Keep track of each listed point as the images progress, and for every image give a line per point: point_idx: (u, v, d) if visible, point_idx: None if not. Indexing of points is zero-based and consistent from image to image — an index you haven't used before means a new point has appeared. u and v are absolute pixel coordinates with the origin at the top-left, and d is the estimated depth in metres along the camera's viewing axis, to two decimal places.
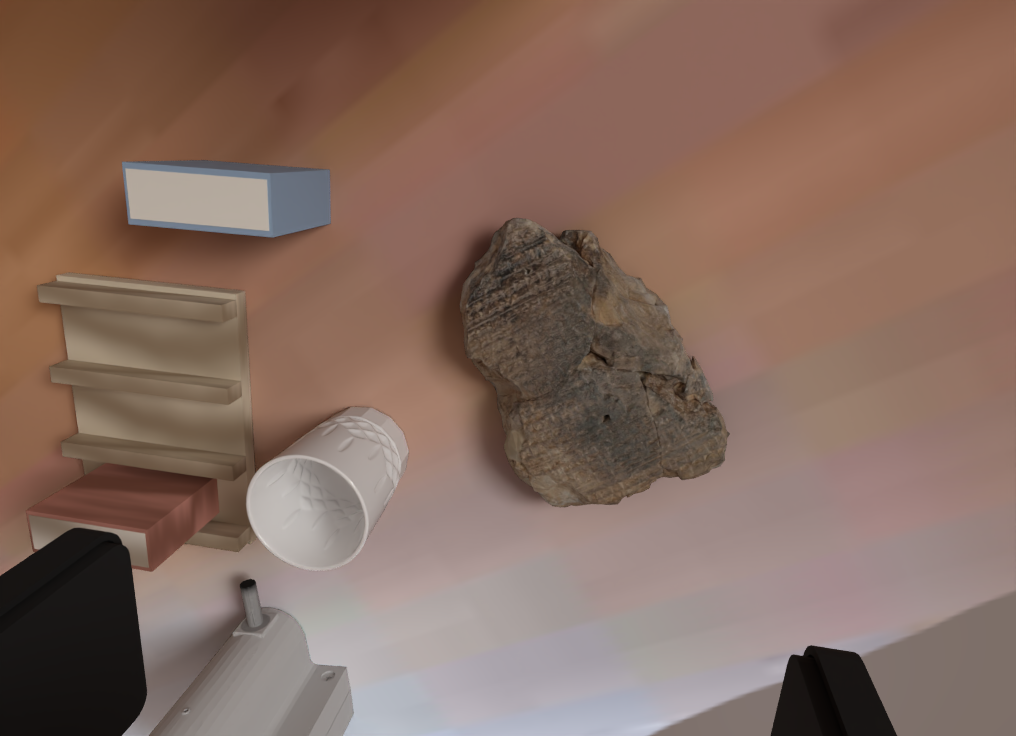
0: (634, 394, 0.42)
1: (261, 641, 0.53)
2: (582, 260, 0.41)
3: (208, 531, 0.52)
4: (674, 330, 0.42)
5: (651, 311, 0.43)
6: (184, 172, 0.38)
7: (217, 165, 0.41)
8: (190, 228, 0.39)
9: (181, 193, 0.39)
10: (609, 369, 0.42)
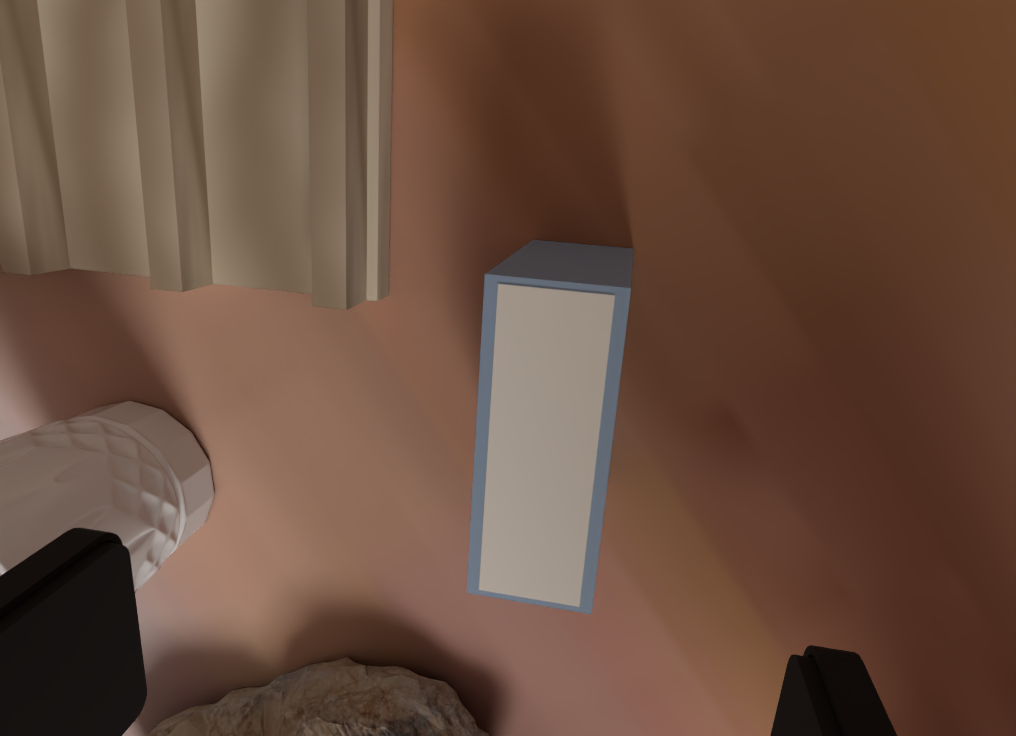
0: None
1: None
2: None
3: None
4: None
5: None
6: (599, 438, 0.17)
7: None
8: (479, 425, 0.18)
9: (554, 423, 0.17)
10: None
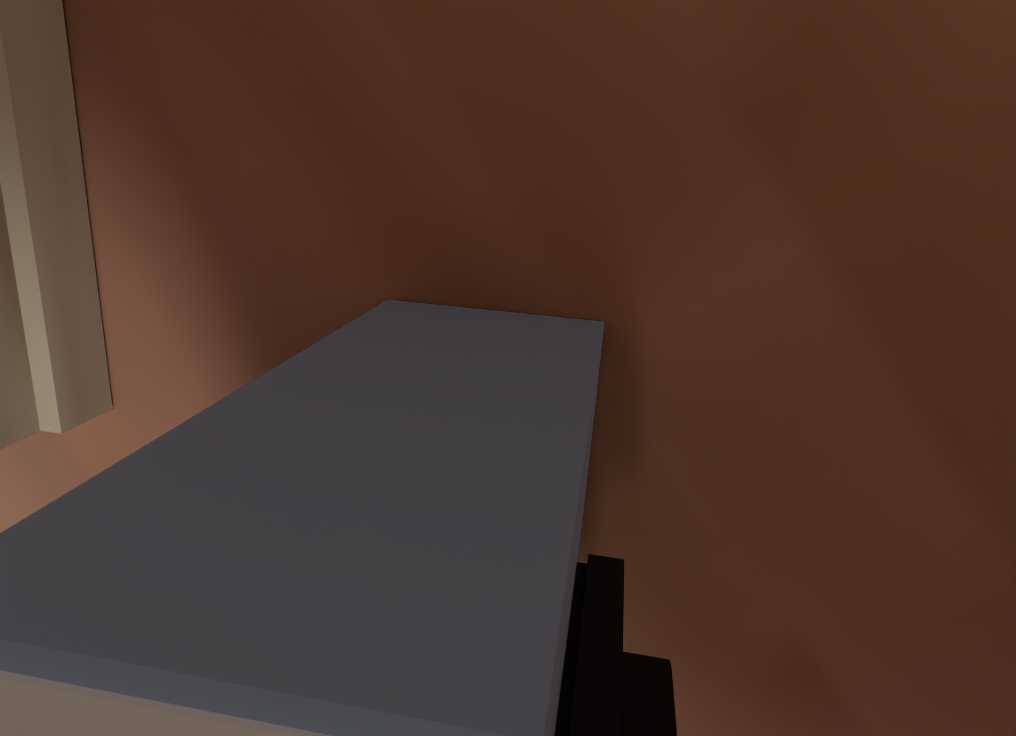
0: None
1: None
2: None
3: None
4: None
5: None
6: None
7: None
8: None
9: None
10: None
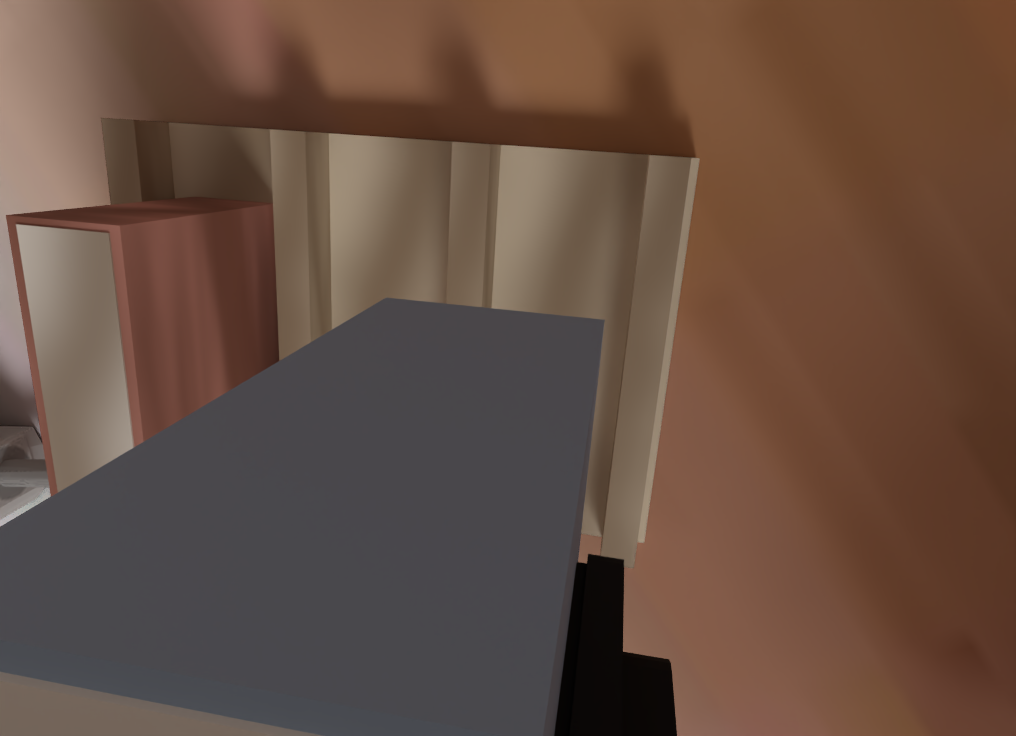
0: None
1: None
2: None
3: None
4: None
5: None
6: None
7: None
8: None
9: None
10: None
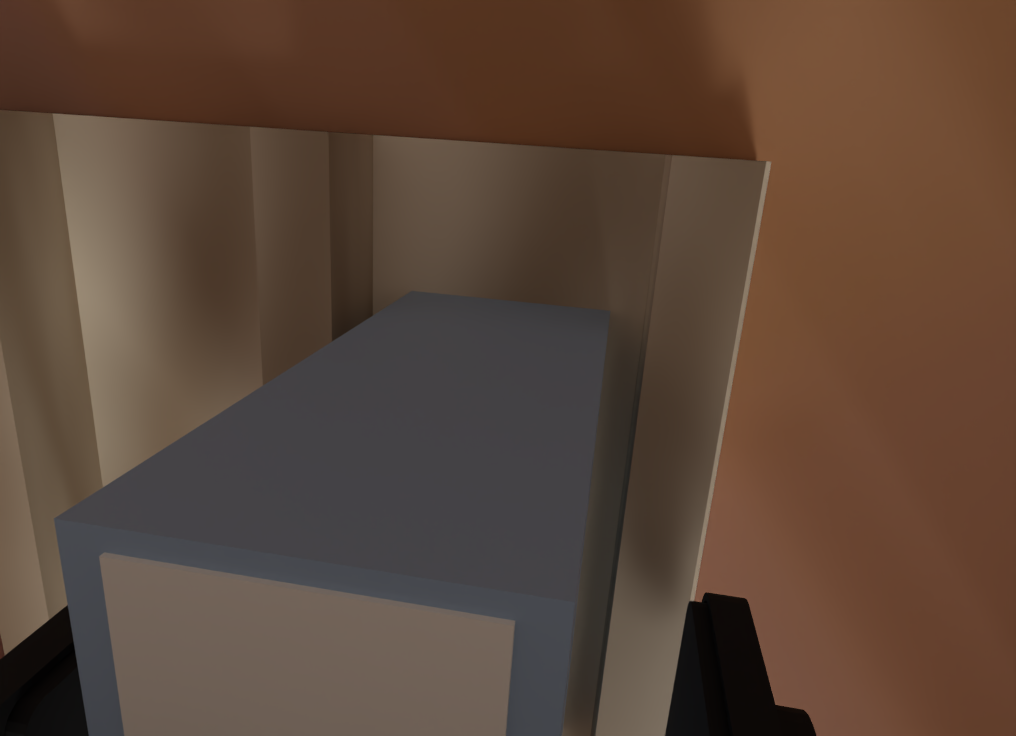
0: None
1: None
2: None
3: None
4: None
5: None
6: None
7: (566, 691, 0.08)
8: None
9: None
10: None
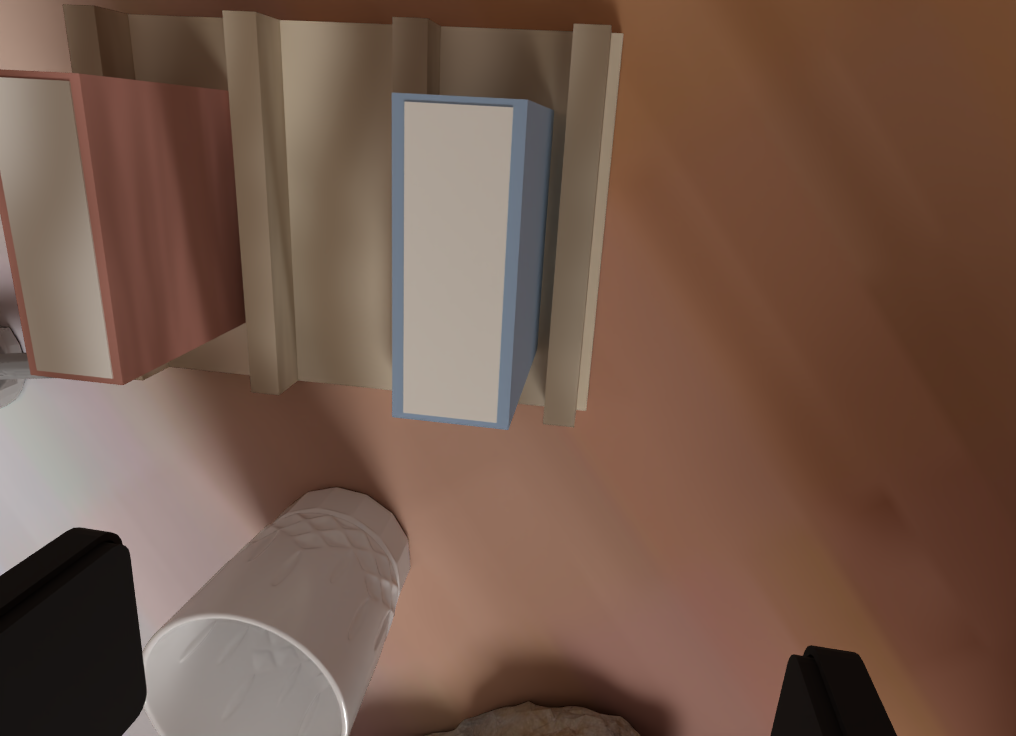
0: None
1: None
2: None
3: None
4: None
5: None
6: (506, 253, 0.18)
7: (532, 234, 0.21)
8: (394, 247, 0.19)
9: (464, 240, 0.18)
10: None
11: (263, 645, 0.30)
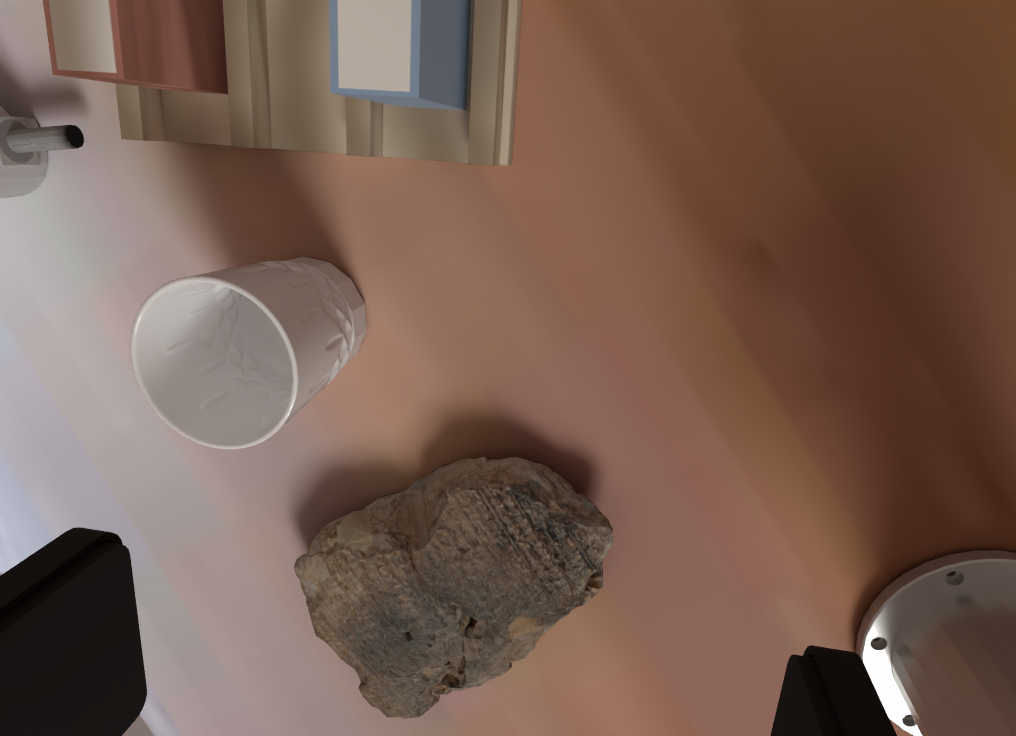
0: (439, 657, 0.40)
1: None
2: (573, 601, 0.38)
3: (141, 86, 0.34)
4: (510, 667, 0.42)
5: (526, 646, 0.41)
6: None
7: None
8: None
9: None
10: (461, 635, 0.39)
11: (238, 375, 0.36)
